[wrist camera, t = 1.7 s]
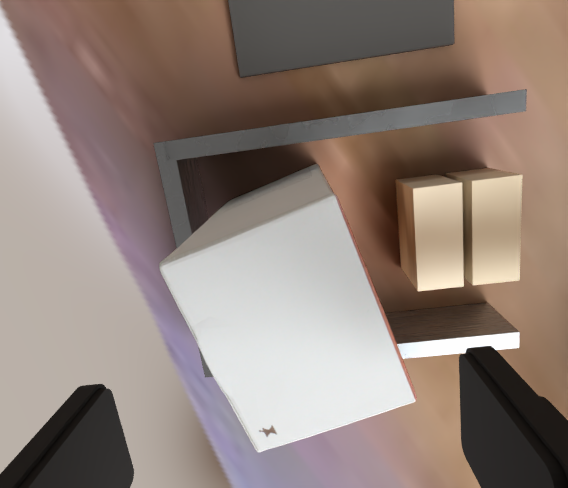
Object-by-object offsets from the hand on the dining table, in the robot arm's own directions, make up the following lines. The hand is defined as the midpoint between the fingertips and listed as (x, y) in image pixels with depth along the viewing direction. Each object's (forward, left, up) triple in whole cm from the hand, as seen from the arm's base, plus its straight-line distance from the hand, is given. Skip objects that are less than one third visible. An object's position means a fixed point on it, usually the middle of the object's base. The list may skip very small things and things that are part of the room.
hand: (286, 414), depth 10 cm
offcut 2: (-1, +11, -16) cm, 19 cm away
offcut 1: (-1, +8, -16) cm, 18 cm away
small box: (-1, 0, -16) cm, 16 cm away
